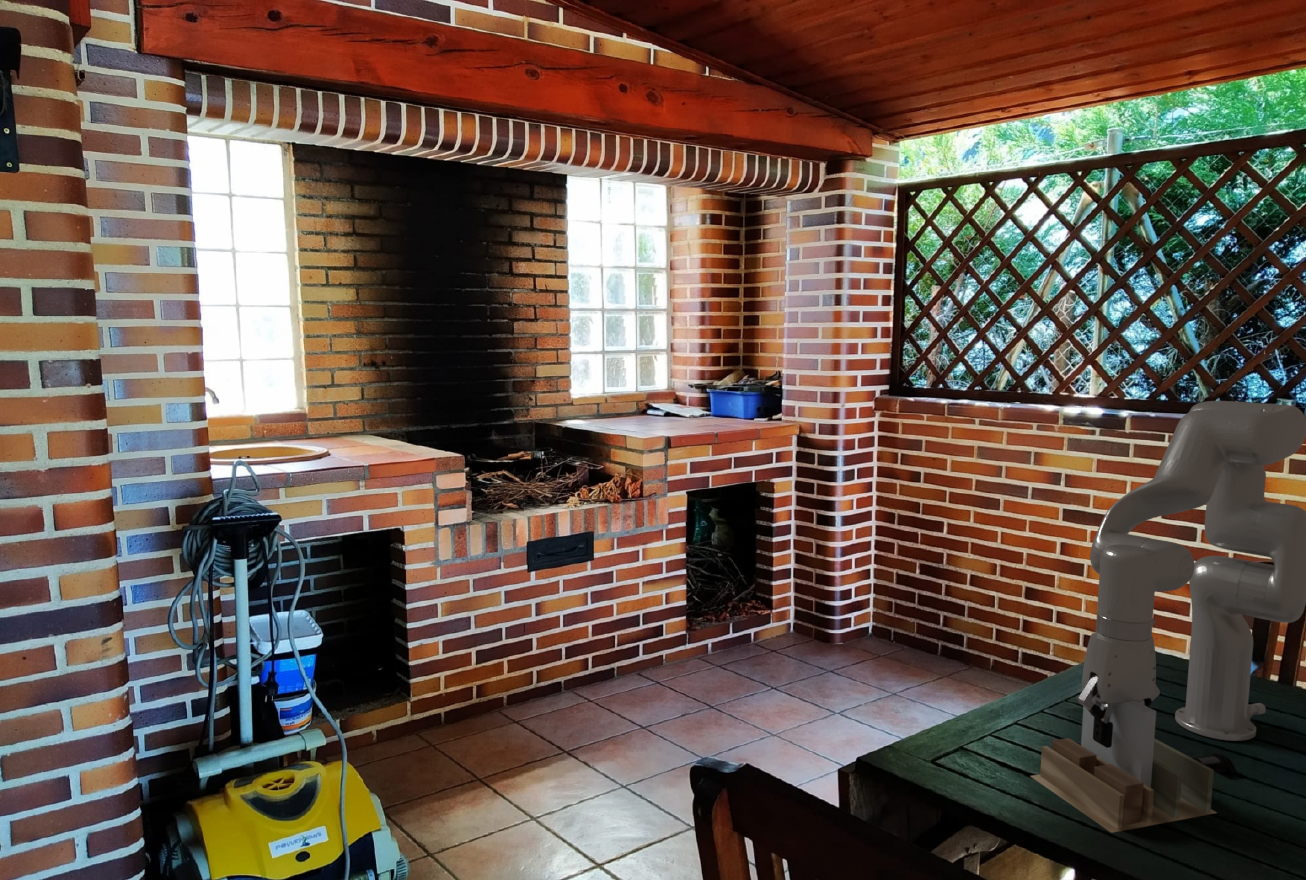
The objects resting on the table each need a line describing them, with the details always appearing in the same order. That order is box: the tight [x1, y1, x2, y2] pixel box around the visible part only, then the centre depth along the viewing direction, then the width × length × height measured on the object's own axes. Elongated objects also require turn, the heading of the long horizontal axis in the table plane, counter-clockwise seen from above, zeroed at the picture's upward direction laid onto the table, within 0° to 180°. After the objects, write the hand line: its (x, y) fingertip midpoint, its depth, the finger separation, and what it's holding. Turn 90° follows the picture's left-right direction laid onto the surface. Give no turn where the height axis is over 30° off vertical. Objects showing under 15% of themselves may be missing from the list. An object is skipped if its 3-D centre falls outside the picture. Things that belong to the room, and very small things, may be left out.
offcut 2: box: [1094, 764, 1144, 826], centre depth 133 cm, size 3×6×6 cm, turn 16°
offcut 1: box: [1051, 737, 1097, 776], centre depth 141 cm, size 3×6×6 cm, turn 16°
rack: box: [1030, 737, 1218, 834], centre depth 138 cm, size 19×17×8 cm
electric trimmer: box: [1191, 752, 1237, 775], centre depth 148 cm, size 4×16×3 cm, turn 105°
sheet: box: [1080, 696, 1157, 788], centre depth 139 cm, size 2×12×15 cm, turn 16°
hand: (1116, 740), depth 139 cm, fingers open, 4 cm apart
